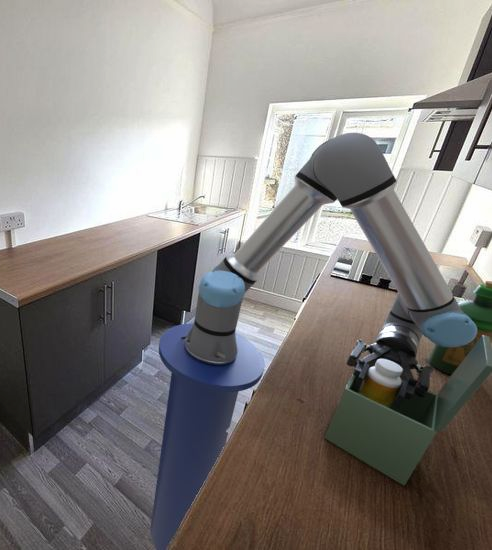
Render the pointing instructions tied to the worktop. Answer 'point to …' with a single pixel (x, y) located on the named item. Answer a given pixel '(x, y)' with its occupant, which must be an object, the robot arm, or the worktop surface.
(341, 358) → the worktop surface
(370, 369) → the supplement bottle
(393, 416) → the box
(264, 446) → the worktop surface
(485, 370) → the box lid
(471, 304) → the bottle
